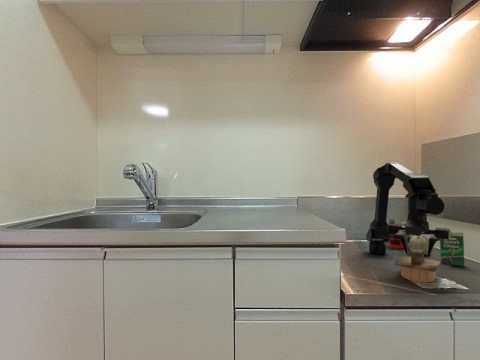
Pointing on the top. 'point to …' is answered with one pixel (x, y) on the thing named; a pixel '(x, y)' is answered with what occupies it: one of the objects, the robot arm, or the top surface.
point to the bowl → (417, 274)
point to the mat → (381, 264)
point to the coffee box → (452, 250)
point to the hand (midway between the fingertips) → (417, 255)
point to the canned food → (395, 242)
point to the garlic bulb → (419, 243)
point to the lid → (418, 261)
